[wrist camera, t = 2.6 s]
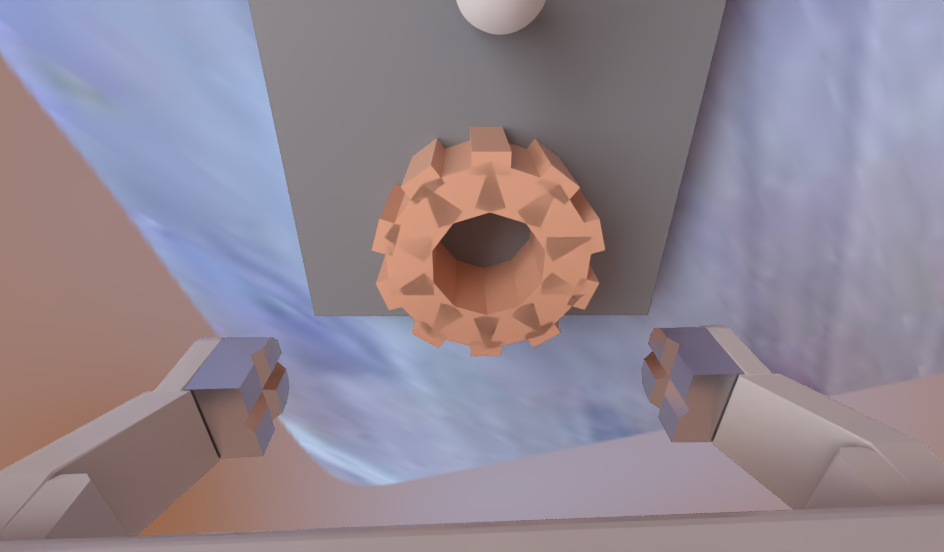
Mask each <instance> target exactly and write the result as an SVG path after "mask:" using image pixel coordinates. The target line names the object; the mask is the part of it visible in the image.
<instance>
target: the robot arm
mask: <svg viewBox="0 0 944 552" xmlns="http://www.w3.org/2000/svg"><path fill="white" fill-rule="evenodd" d="M648 344H649V346H650V347H651V349H652V350H653V352H651V353H650V354H649V355H648V356H647V357H646V358H645V359H644V363H643V368H642V382H643V386H644V390H645V393H646V395H647V397H648V399H649V401H650V402H651V403H653V404H654V405H656V406H657V407H659V408H660V412H659V416H658V418H659V420H660V421H661V423H662V425H663V427H664V429H665V431H666V433H667V434H668V436H669V438H670V440H671V442H713V443H712V444H713V445H714V446H716V447H717V448H718V449H719V450H721V451H722V452H723V453H724V454H726V455H727V456H728V457H729V458H730V459H732V460H733V461H734V462H735V463H737V464H738V465H739V466H740V467H742V468H743V469H744V470H745V471H747V472H748V473H749V474H750V475H751V476H753V477H754V478H755V479H756V480H758V481H759V482H760V483H761V484H763V485H764V486H765V487H766V488H767V489H769V490H770V491H771V492H772V493H774V494H775V495H776V496H777V497H778V498H780V499H781V500H782V501H783V502H785V503H786V504H787V505H788V506H790V507H791V508H792V509H793V510H775V511H748V512H724V513H723V512H722V513H696V514H671V515H649V516H648V515H647V516H622V517H597V518H572V519H545V520H520V521H498V522H497V521H495V522H471V523H445V524H418V525H395V526H394V525H393V526H367V527H342V528H317V529H293V530H267V531H243V532H217V533H191V534H166V535H141V536H137V535H138V534H140V533H141V532H142V531H143V530H144V529H145V528H146V527H147V526H148V525H150V524H151V523H152V522H153V521H154V520H155V519H156V518H157V517H158V516H159V515H160V514H162V513H163V512H164V511H165V510H166V509H167V508H168V507H169V506H171V505H172V504H173V503H174V502H175V501H176V500H177V499H178V498H179V497H181V495H182V494H184V493H185V492H186V491H187V490H188V489H189V488H190V487H192V486H193V485H194V484H195V483H196V482H197V481H198V480H199V479H200V478H201V477H203V476H204V475H205V474H206V473H207V472H208V471H209V470H210V469H211V468H213V467H214V466H215V465H216V464H217V463H218V462H219V461H220V460H219V459H223V458H239V457H255V456H263V455H264V453H265V451H266V449H267V446H268V444H269V442H270V440H271V437H272V435H273V433H274V430H275V427H274V424H273V421H272V420H273V419H275V418H276V417H277V416H279V415H280V414H281V413H283V410H284V408H285V405H286V403H287V399H288V392H289V379H288V374H287V370H286V368H284V367H283V366H282V365H281V364H280V363H278V362H277V361H278V359H279V357H280V355H281V353H282V352H281V349H280V346H279V343H278V340H276V339H275V338H273V337H227V338H202V339H199V340H196V341H195V342H194V344H193V345H192V346H191V347H190V349H189V350H188V351H187V352H186V353H185V354H184V356H183V357H182V358H181V359H180V360H179V362H178V363H177V364H176V365H175V366H174V368H173V369H172V370H171V371H170V373H169V374H168V375H167V376H166V377H165V378H164V380H163V381H162V382H161V383H160V384H159V386H158V387H157V388H156V389H155V390H154V392H144V393H143V394H141V395H139V396H137V397H135V398H133V399H132V400H130V401H128V402H126V403H124V404H122V405H120V406H119V407H117V408H115V409H113V410H111V411H110V412H108V413H106V414H104V415H102V416H100V417H98V418H97V419H95V420H93V421H91V422H89V423H88V424H86V425H84V426H82V427H80V428H78V429H76V430H75V431H73V432H71V433H69V434H67V435H66V436H64V437H62V438H60V439H58V440H56V441H55V442H53V443H51V444H49V445H47V446H45V447H44V448H42V449H40V450H38V451H36V452H34V453H33V454H31V455H29V456H27V457H25V458H23V459H22V460H20V461H18V462H16V463H14V464H12V465H11V466H9V467H7V468H5V469H3V470H1V471H0V552H944V461H943V460H942V459H941V458H939V457H938V456H937V455H936V454H935V453H934V452H933V451H932V450H930V449H929V448H928V447H927V446H926V445H925V444H924V443H922V442H920V441H918V440H916V439H914V438H912V437H909V436H908V435H905V434H903V433H901V432H899V431H897V430H895V429H893V428H891V427H889V426H887V425H885V424H883V423H880V422H878V421H877V420H874V419H872V418H870V417H868V416H866V415H864V414H862V413H860V412H858V411H856V410H853V409H852V408H849V407H847V406H845V405H844V404H841V403H839V402H837V401H835V400H833V399H831V398H829V397H827V396H825V395H823V394H821V393H819V392H817V391H815V390H813V389H811V388H808V387H806V386H804V385H802V384H800V383H798V382H796V381H794V380H792V379H790V378H788V377H786V376H784V375H782V374H772V373H771V372H770V371H769V370H768V369H767V367H766V366H765V365H764V364H763V363H762V362H761V361H760V360H759V359H758V358H757V357H756V356H755V355H754V354H753V352H752V351H751V350H750V349H749V348H748V347H747V346H746V345H745V344H744V343H743V342H742V341H741V340H740V339H739V338H738V336H737V335H736V334H735V333H734V332H733V331H732V330H731V329H730V328H729V327H727V326H724V325H711V326H700V327H679V328H654V330H653V331H652V333H651V334H650V338H649V342H648Z"/></svg>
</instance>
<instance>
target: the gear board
mask: <svg viewBox="0 0 944 552" xmlns="http://www.w3.org/2000/svg"><path fill="white" fill-rule="evenodd" d="M726 1H727V0H248V2H249V7H250V11H251V16H252V21H253V25H254V30H255V35H256V40H257V44H258V49H259V54H260V59H261V63H262V68H263V73H264V78H265V82H266V87H267V92H268V97H269V101H270V106H271V111H272V116H273V120H274V125H275V130H276V135H277V139H278V144H279V149H280V153H281V158H282V163H283V168H284V172H285V177H286V182H287V187H288V191H289V196H290V201H291V206H292V210H293V215H294V220H295V225H296V229H297V234H298V239H299V244H300V248H301V253H302V258H303V263H304V267H305V272H306V277H307V281H308V286H309V291H310V296H311V300H312V305H313V310H314V315H315V316H410V315H409V314H408V313H407V312H406V311H405V310H404V309H403V308H402V307H400V308H396V309H393V310H389V309H388V307H387V305H386V303H385V301H384V299H383V297H382V295H381V293H380V291H379V289H378V287H377V285H376V281H377V278H378V275H379V272H380V269H381V266H382V263H383V260H384V257H385V254H383V253H379V252H375V251H372V247H373V243H374V239H375V234H376V230H377V226H378V222H379V218H380V216H381V214H382V211H383V209H384V207H385V204H386V202H387V200H388V197H389V195H390V193H391V190H392V188H393V186H394V183H395V184H398V185H402V182H403V180H404V177H405V174H406V172H407V169H408V167H409V164H410V161H411V159H412V157H413V156H414V155H415V154H417V153H418V152H419V151H420V150H422V149H423V148H424V147H426V146H427V145H428V144H430V143H431V142H432V141H434V140H435V139H436V138H438V140H439V141H440V142H441V144H442V145H443V147H444V148H445V149H446V148H449V147H452V146H455V145H458V144H461V143H464V142H467V141H470V127H503V129H504V132H505V135H506V138H507V140H508V143H511V144H514V145H517V146H520V147H523V148H526V149H527V148H528V147H529V145H530V144H531V143H532V141H533V140H534V139H535V138H536V139H537V140H538V141H539V142H541V143H542V144H543V145H544V146H546V147H547V148H548V149H549V150H551V151H552V152H553V153H555V154H556V155H557V156H558V157H559V158H560V159H561V161H562V162H563V164H564V165H565V166H566V168H567V169H568V171H569V172H570V174H571V175H572V176H573V178H574V179H575V181H576V182H577V184H578V185H579V186H580V188H579V190H580V191H581V193H582V194H583V196H584V197H585V198H586V200H587V201H588V203H589V204H590V206H591V207H592V209H593V210H594V212H595V213H596V214H597V216H598V217H599V219H600V224H601V230H602V235H603V241H604V246H605V250H604V251H600V252H596V253H593V254H591V256H590V262H589V264H590V266H591V268H592V270H593V272H594V273H595V275H596V277H597V279H598V281H599V285H598V287H597V288H596V290H595V292H594V294H593V296H592V297H591V299H590V301H589V303H588V305H587V306H586V308H585V310H584V309H580V308H577V307H573V306H572V307H571V308H570V309H569V310H568V311H567V312H566V313H565V314H564V315H648V312H649V308H650V304H651V300H652V296H653V292H654V288H655V284H656V280H657V276H658V272H659V268H660V264H661V260H662V256H663V252H664V248H665V244H666V240H667V236H668V232H669V228H670V224H671V220H672V216H673V212H674V208H675V204H676V200H677V196H678V192H679V188H680V184H681V180H682V176H683V172H684V168H685V164H686V160H687V156H688V152H689V148H690V144H691V140H692V136H693V132H694V128H695V124H696V120H697V116H698V112H699V109H700V105H701V101H702V97H703V93H704V89H705V85H706V81H707V77H708V73H709V69H710V65H711V61H712V57H713V53H714V49H715V45H716V41H717V37H718V33H719V29H720V25H721V21H722V17H723V13H724V9H725V5H726ZM529 236H530V228H529V227H528V226H527V224H526V223H523V222H520V221H517V220H513V219H510V218H507V217H504V216H500V215H497V214H494V213H491V212H489V213H486V214H483V215H480V216H476V217H473V218H470V219H466V220H463V221H460V222H456V223H453V225H452V226H451V227H450V228H449V230H448V231H447V232H446V234H445V235H444V236H443V238H442V239H441V240H440V241H441V243H442V244H443V245H444V246H445V247H446V248H447V250H448V251H449V252H450V253H451V254H452V256H453V257H454V258H455V259H456V260H458V261H461V262H465V263H468V264H472V265H475V266H479V267H482V268H485V267H488V266H492V265H495V264H499V263H502V262H506V261H509V260H511V259H512V258H513V257H514V256H515V255H516V254H517V252H518V251H519V250H520V249H521V248H522V247H523V246H524V244H525V243H526V242H527V241H528V240H529Z"/></svg>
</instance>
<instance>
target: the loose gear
mask: <svg viewBox="0 0 944 552" xmlns="http://www.w3.org/2000/svg"><path fill="white" fill-rule="evenodd" d="M579 188H580V186H579V185H578V184H577V182H576V181H575V179H574V178H573V176H572V175H571V174H570V172H569V171H568V169H567V168H566V166H565V165H564V164H563V162H562V161H561V159H560V158H559V157H558V156H557V155H556V154H555V153H553V152H552V151H551V150H549V149H548V148H547V147H546V146H544V145H543V144H542V143H541V142H539V141H538V140H537V139H536V138H535V139H534V140H533V141H532V143H531V144H530V145H529V147H528V148H527V149H526V148H523V147H520V146H517V145H514V144H511V143H508V140H507V138H506V135H505V132H504V129H503V127H470V141H467V142H464V143H461V144H458V145H455V146H452V147H449V148H446V149H445V148H444V147H443V145H442V144H441V142H440V141H439V140H438V138H436V139H435V140H434V141H432V142H431V143H430V144H428V145H427V146H426V147H424V148H423V149H422V150H420V151H419V152H418V153H417V154H415V155H414V156H413V157H412V159H411V161H410V164H409V167H408V169H407V172H406V174H405V177H404V180H403V182H402V185H398V184H395V183H394V186H393V188H392V190H391V193H390V195H389V197H388V200H387V202H386V204H385V207H384V209H383V211H382V214H381V216H380V218H379V222H378V226H377V230H376V234H375V239H374V243H373V247H372V251H375V252H379V253H383V254H385V257H384V260H383V263H382V266H381V269H380V272H379V275H378V278H377V281H376V285H377V287H378V289H379V291H380V293H381V295H382V297H383V299H384V301H385V303H386V305H387V307H388V309H389V310H393V309H396V308H400V307H402V308H403V309H404V310H405V311H406V312H407V313H408V314H409V315H410V316H411V317H412V318H413V319H414V325H413V331H412V334H414V335H415V336H417V337H419V338H421V339H423V340H424V341H426V342H428V343H430V344H432V345H434V346H435V347H437V348H439V347H440V346H441V345H442V343H443V342H444V341H445V340H448V341H452V342H456V343H460V344H464V345H468V346H470V350H471V356H501V352H502V346H503V345H507V344H511V343H515V342H519V341H523V340H528V341H529V342H530V344H531V345H532V346H533V347H536V346H538V345H540V344H541V343H543V342H545V341H547V340H549V339H551V338H552V337H554V336H556V335H558V334H560V333H561V332H560V329H559V325H558V322H557V321H558V320H559V319H560V318H561V317H562V316H563V315H564V314H565V313H566V312H567V311H568V310H569V309H570V308H571V307H572V306H573V307H577V308H580V309H584V310H585V308H586V306H587V305H588V303H589V301H590V299H591V297H592V296H593V294H594V292H595V290H596V288H597V287H598V285H599V281H598V279H597V277H596V275H595V273H594V272H593V270H592V268H591V266H590V264H589V262H590V256H591V254H593V253H596V252H600V251H604V250H605V246H604V241H603V235H602V230H601V224H600V219H599V217H598V216H597V214H596V213H595V212H594V210H593V209H592V207H591V206H590V204H589V203H588V201H587V200H586V198H585V197H584V196H583V194H582V193H581V191H580V190H579ZM489 212H491V213H494V214H497V215H500V216H504V217H507V218H510V219H513V220H517V221H520V222H523V223H526V224H527V226H528V227H529V228H530V236H529V240H528V241H527V242H526V243H525V244H524V246H523V247H522V248H521V249H520V250H519V251H518V252H517V254H516V255H515V256H514V257H513V258H512V259H511V260H509V261H506V262H502V263H499V264H495V265H492V266H488V267H485V268H482V267H479V266H475V265H472V264H468V263H465V262H461V261H458V260H456V259H455V258H454V257H453V256H452V254H451V253H450V252H449V251H448V250H447V248H446V247H445V246H444V245H443V244H442V243H441V241H440V240H441V239H442V238H443V236H444V235H445V234H446V232H447V231H448V230H449V228H450V227H451V226H452V225H453V223H456V222H460V221H463V220H466V219H470V218H473V217H476V216H480V215H483V214H486V213H489Z"/></svg>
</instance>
